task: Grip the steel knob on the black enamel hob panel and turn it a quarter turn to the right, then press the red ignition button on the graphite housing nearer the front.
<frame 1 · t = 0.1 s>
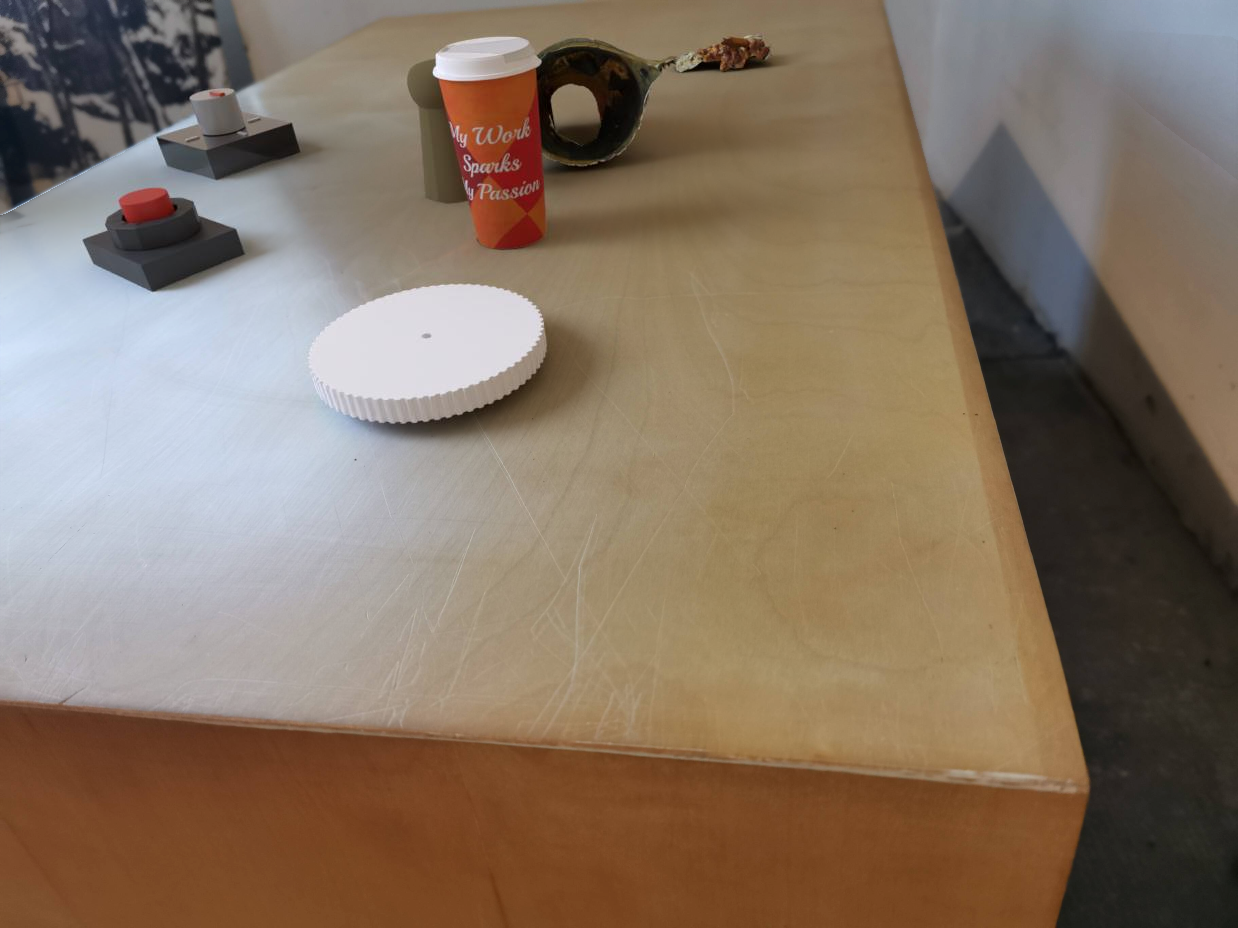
pastry: (722, 67, 109), on the table
hob panel: (233, 158, 92), on the table
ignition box: (169, 259, 71), on the table
ignition button: (147, 206, 68), point 4 cm above the table, slide at 0.1 cm
olive metal hollow piece: (590, 154, 85), on the table
burner knob: (217, 110, 89), point 5 cm above the table, hinge at 0.0°
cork: (458, 192, 79), on the table
plastic lid: (436, 374, 53), on the table
paper cup: (513, 237, 70), on the table
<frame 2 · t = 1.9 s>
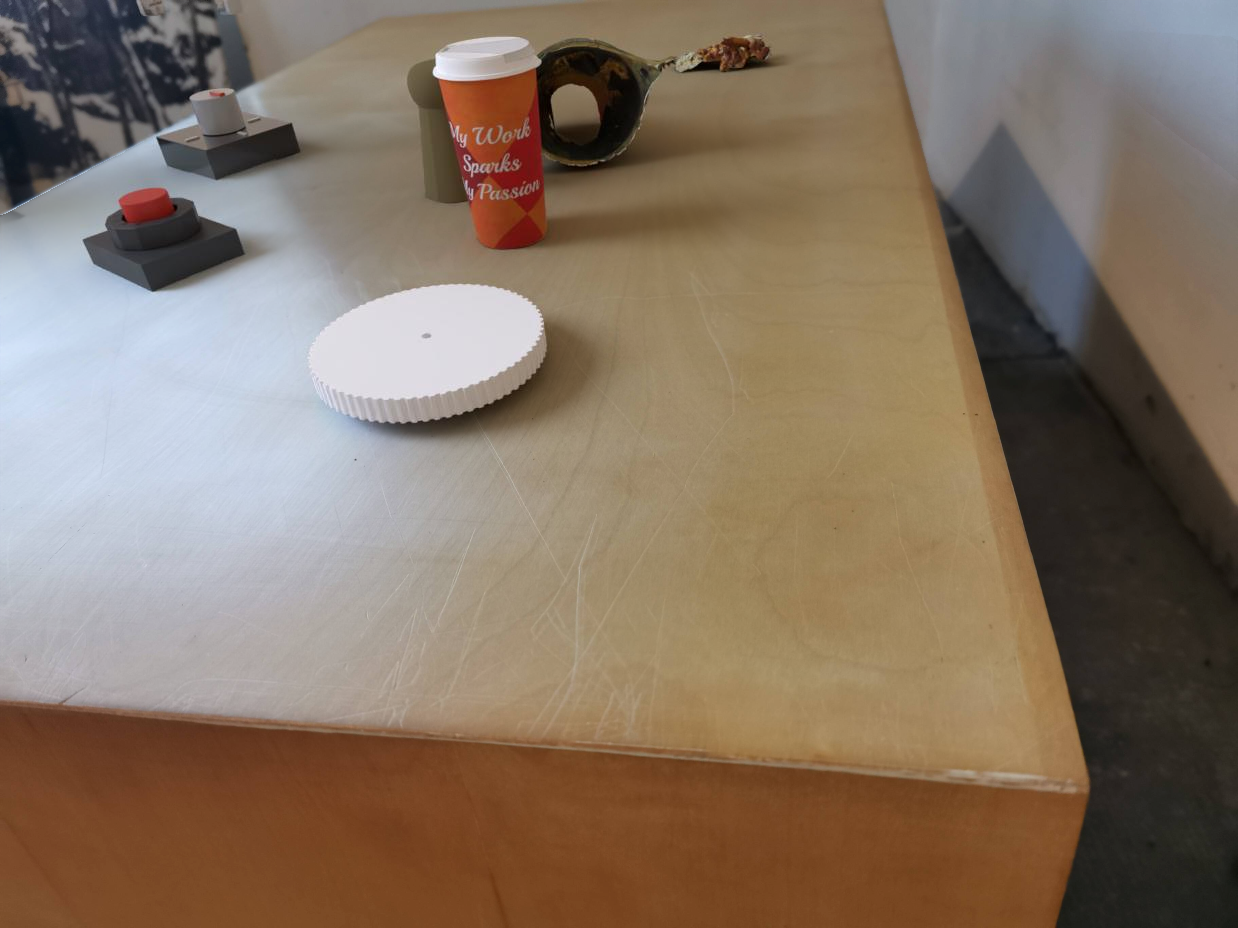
hand: (192, 14, 83), 14 cm above the table, tool pointing down, fingers open, 8 cm apart
nothing on the table moved.
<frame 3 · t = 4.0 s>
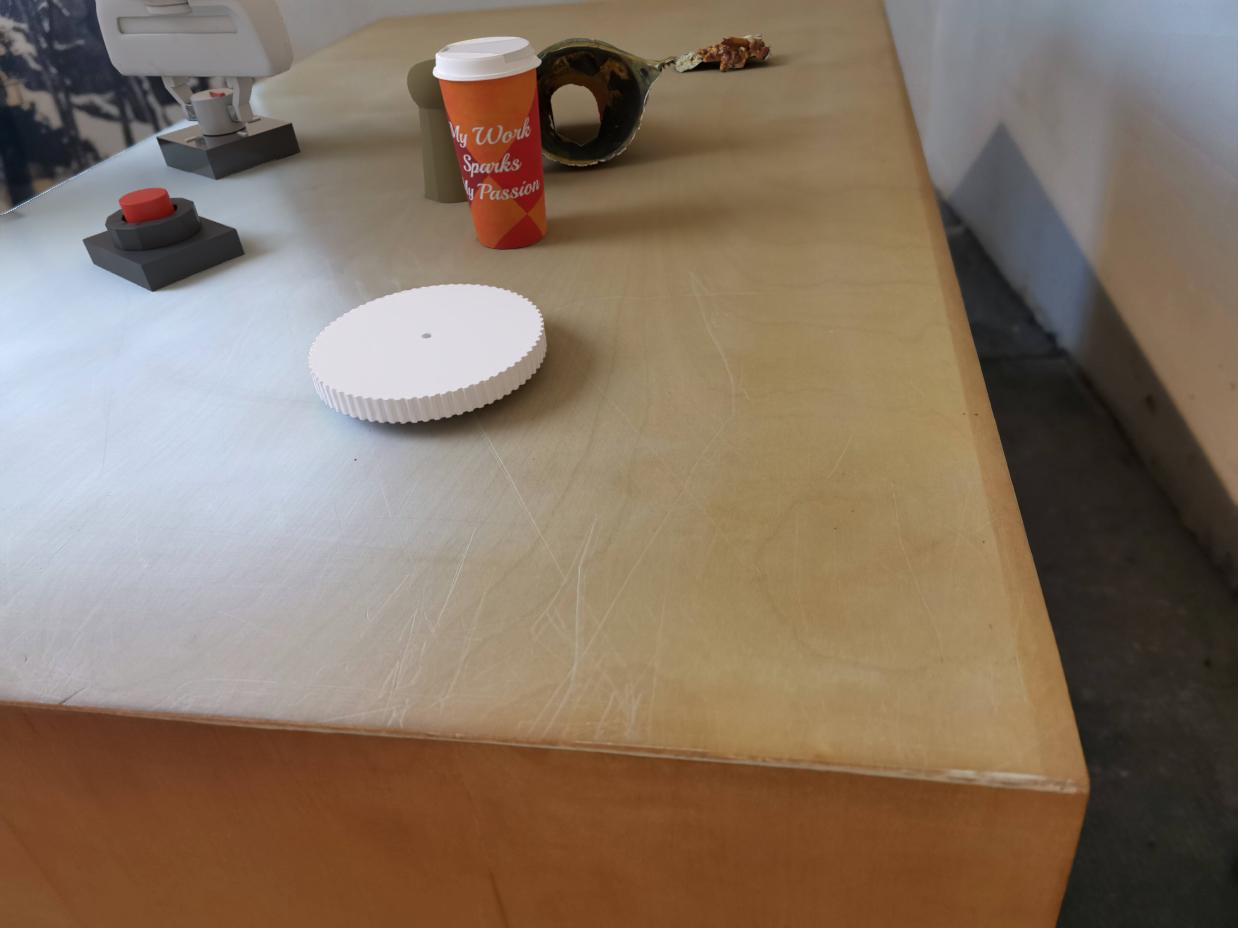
hand: (221, 120, 90), 4 cm above the table, tool pointing down, fingers closed on burner knob, 4 cm apart
burner knob: (217, 110, 89), point 5 cm above the table, hinge at 0.1°, touching gripper
everything else where it was.
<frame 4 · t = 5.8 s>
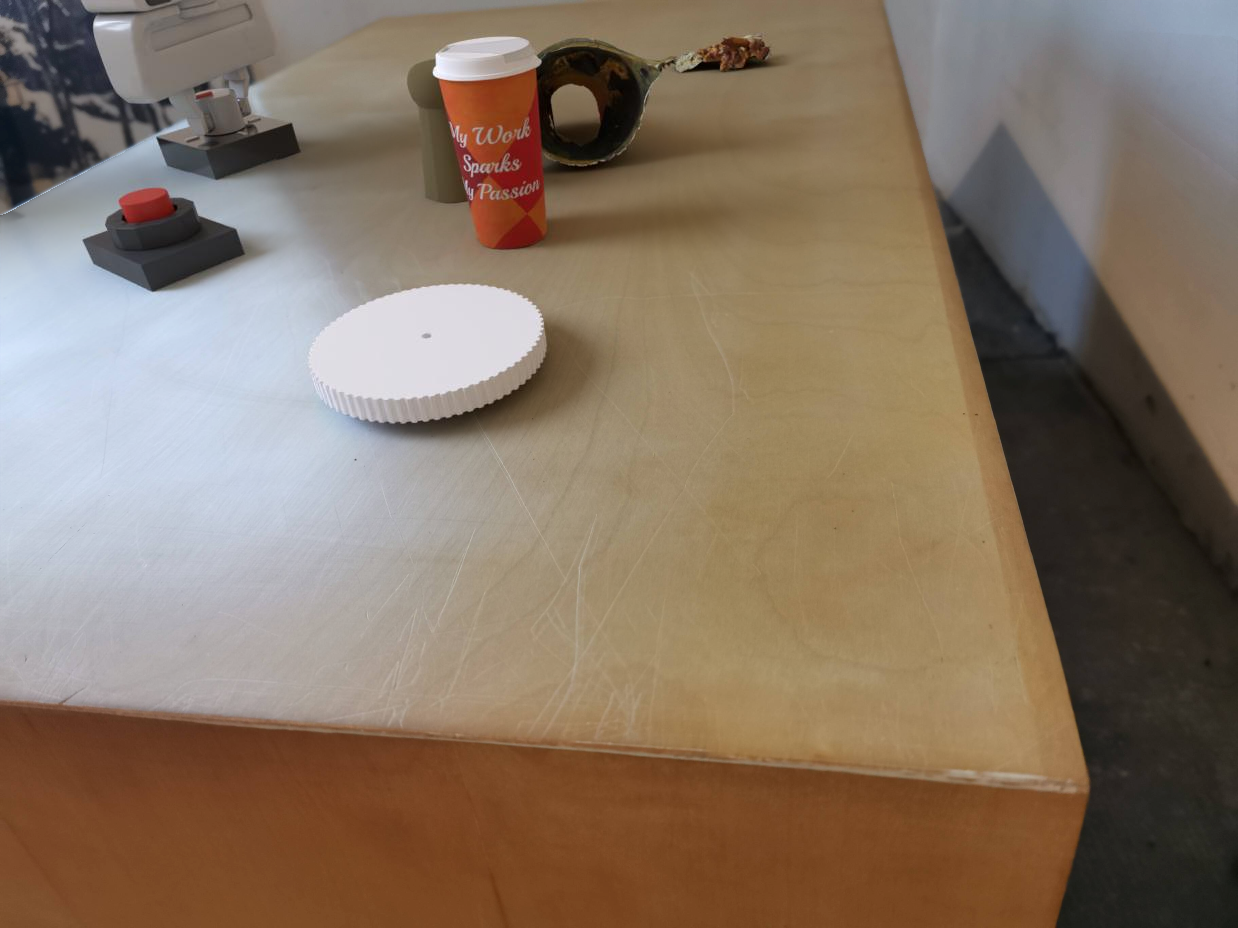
hand: (223, 125, 90), 3 cm above the table, tool pointing down, fingers open, 5 cm apart
burner knob: (217, 110, 89), point 5 cm above the table, hinge at -90.0°
everything else where it was.
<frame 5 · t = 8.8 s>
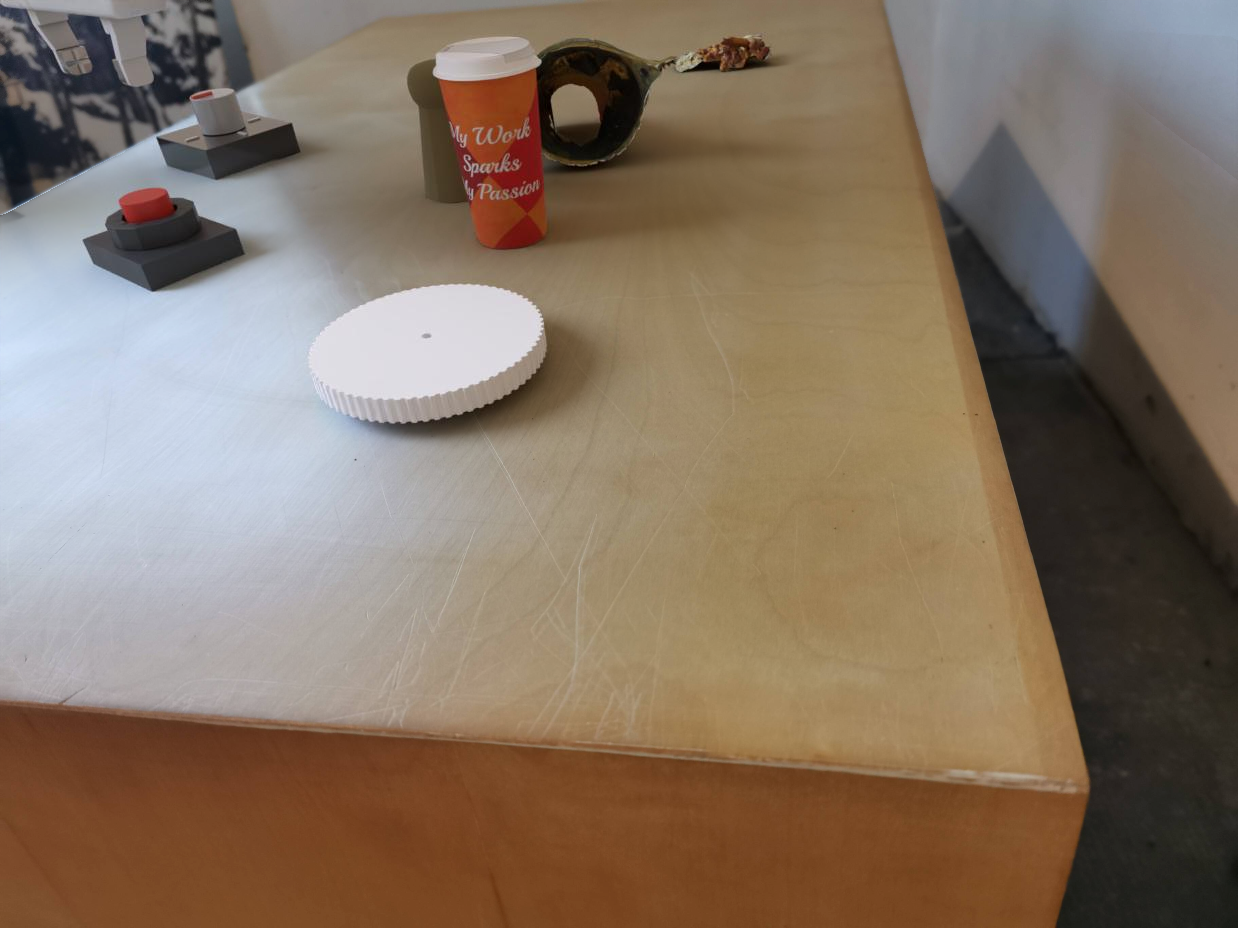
hand: (108, 79, 64), 14 cm above the table, tool pointing down, fingers open, 8 cm apart
nothing on the table moved.
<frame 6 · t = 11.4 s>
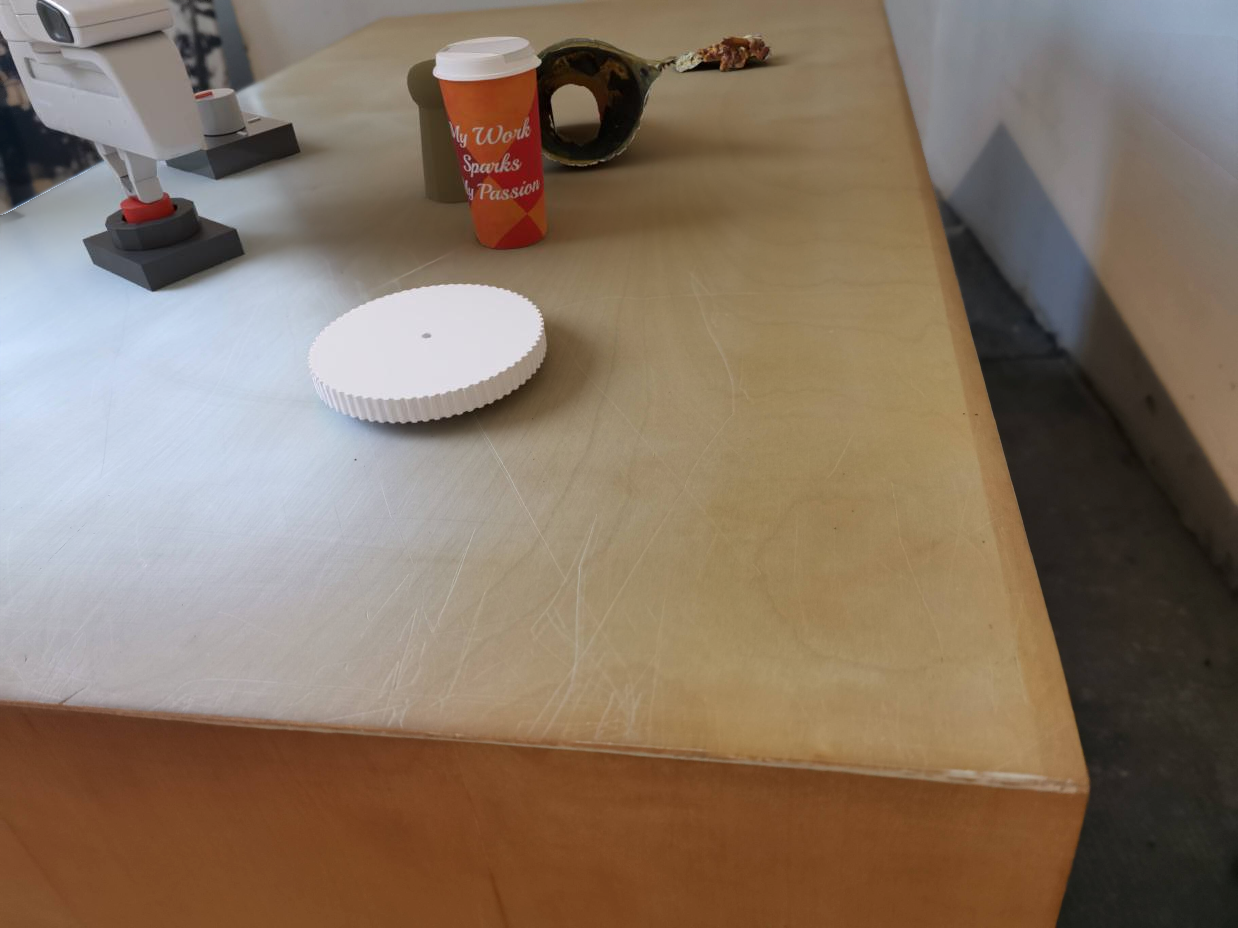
hand: (145, 198, 68), 5 cm above the table, tool pointing down, fingers closed, pressing on ignition button
ignition button: (148, 210, 68), point 4 cm above the table, slide at -0.2 cm, touching gripper
everything else where it was.
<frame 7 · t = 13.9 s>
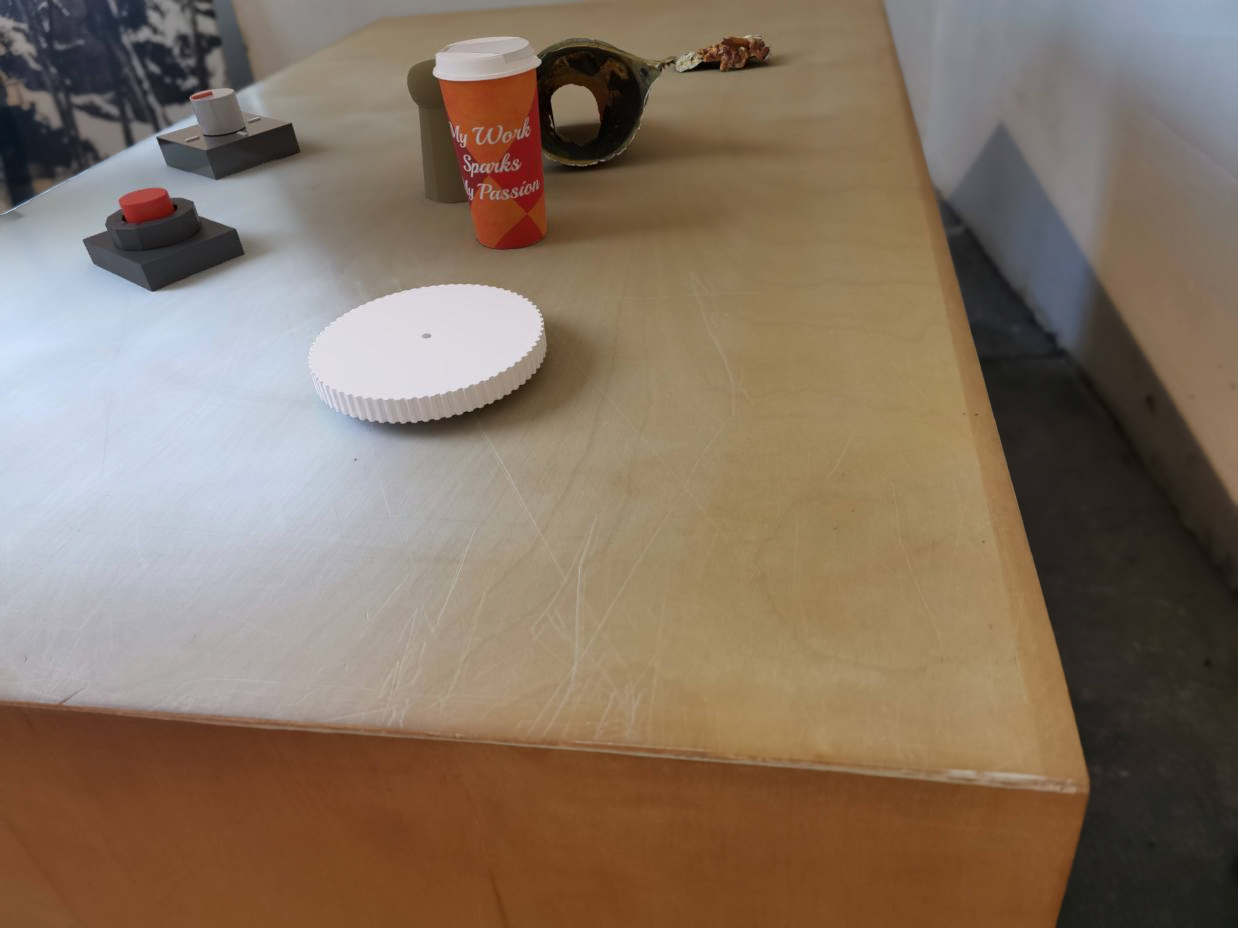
ignition button: (147, 206, 68), point 4 cm above the table, slide at 0.1 cm
everything else where it was.
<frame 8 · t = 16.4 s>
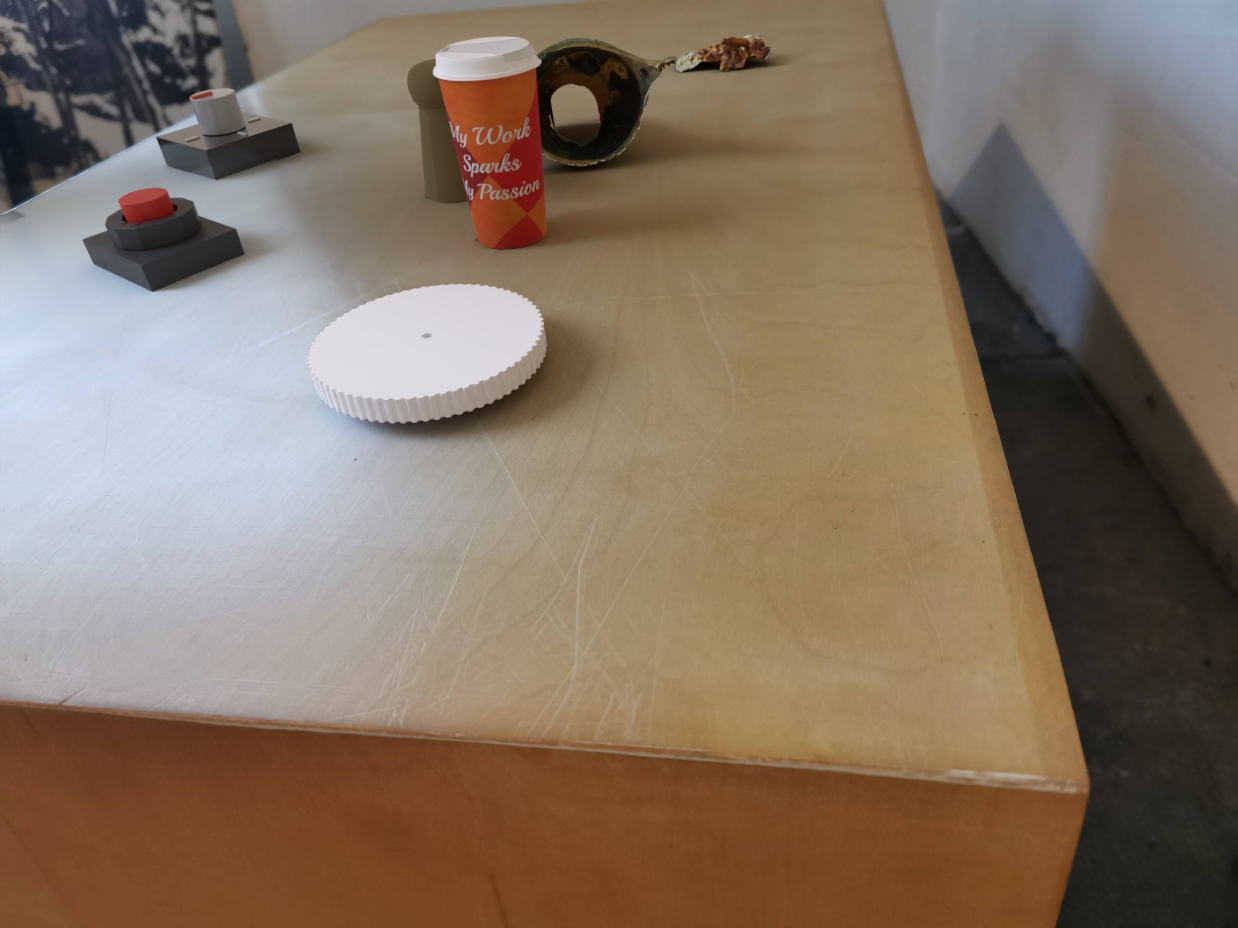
nothing on the table moved.
at the end: burner knob at -90° (first picture: +0°); ignition button pushed in 1.0 cm at the most during the clip, back to where it started at the end; ignition button slide at 0.1 cm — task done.
